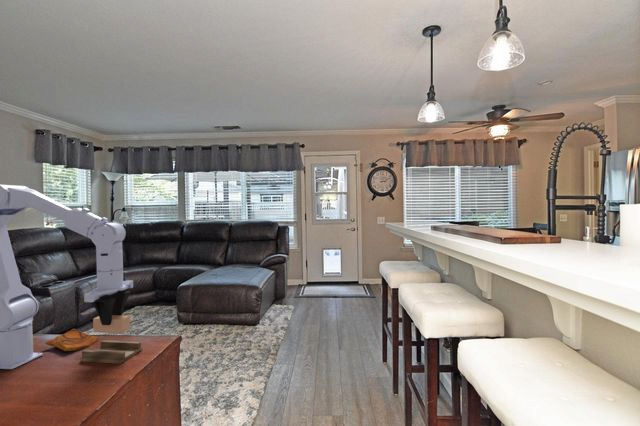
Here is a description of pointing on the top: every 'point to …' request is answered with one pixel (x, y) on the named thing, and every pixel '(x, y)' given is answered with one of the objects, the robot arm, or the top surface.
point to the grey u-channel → (112, 352)
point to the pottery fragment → (72, 340)
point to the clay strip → (112, 325)
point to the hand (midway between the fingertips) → (111, 322)
